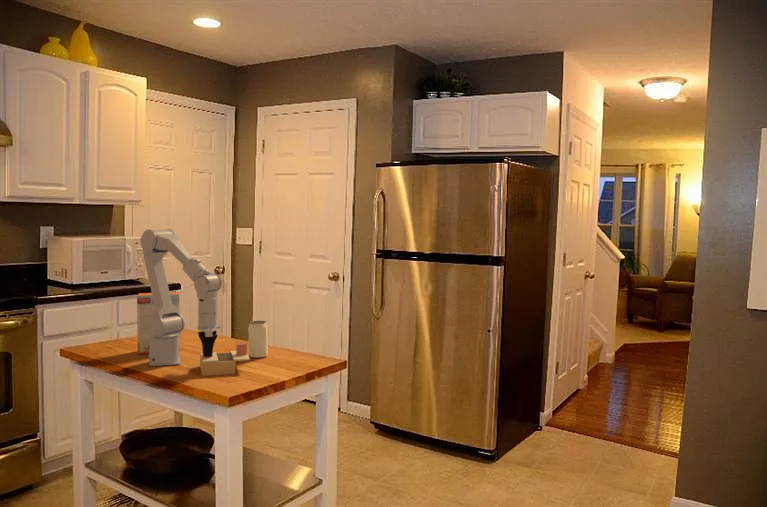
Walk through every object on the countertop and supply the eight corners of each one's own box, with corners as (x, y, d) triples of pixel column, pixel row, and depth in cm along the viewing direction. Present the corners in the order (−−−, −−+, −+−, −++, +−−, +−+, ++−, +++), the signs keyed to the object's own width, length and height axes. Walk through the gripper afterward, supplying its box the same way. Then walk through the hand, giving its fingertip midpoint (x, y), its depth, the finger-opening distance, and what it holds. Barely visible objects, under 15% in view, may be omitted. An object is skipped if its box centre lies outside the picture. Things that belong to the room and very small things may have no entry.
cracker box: (179, 348, 220) (179, 291, 219) (179, 352, 215) (179, 293, 213) (138, 350, 216) (138, 292, 215) (137, 354, 210) (136, 294, 209)
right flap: (233, 360, 189) (234, 348, 189) (230, 352, 200) (230, 340, 199) (249, 359, 190) (249, 347, 190) (245, 351, 201) (245, 339, 201)
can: (251, 353, 215) (251, 320, 215) (269, 354, 215) (269, 320, 214) (246, 358, 209) (245, 323, 208) (265, 358, 209) (264, 323, 208)
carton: (201, 375, 186) (201, 362, 185) (200, 366, 197) (200, 353, 197) (235, 373, 189) (235, 361, 189) (231, 364, 200) (231, 352, 200)
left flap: (202, 362, 186) (202, 349, 185) (200, 353, 197) (200, 341, 196) (218, 361, 187) (218, 348, 187) (215, 353, 198) (215, 341, 198)
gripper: (222, 315, 185) (222, 359, 186) (219, 308, 199) (218, 349, 200) (198, 316, 183) (198, 361, 184) (196, 309, 197) (196, 350, 198)
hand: (207, 355), depth 192 cm, fingers closed on left flap, 2 cm apart
